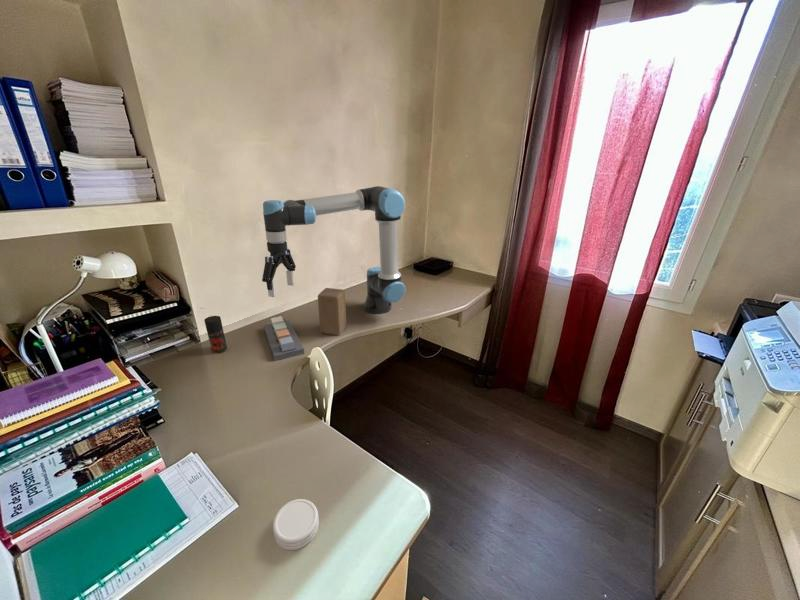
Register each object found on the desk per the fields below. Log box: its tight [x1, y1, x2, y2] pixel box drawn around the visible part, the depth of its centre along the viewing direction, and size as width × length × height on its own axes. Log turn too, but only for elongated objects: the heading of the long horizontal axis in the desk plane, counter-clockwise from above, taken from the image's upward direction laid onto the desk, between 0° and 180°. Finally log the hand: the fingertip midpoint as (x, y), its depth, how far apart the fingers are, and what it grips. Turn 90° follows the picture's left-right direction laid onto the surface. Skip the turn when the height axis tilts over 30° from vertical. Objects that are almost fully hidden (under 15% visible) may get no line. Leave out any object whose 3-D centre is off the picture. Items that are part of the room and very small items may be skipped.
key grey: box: [270, 316, 285, 330], centre depth 159 cm, size 5×5×4 cm
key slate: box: [279, 336, 294, 352], centre depth 142 cm, size 5×5×4 cm
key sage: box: [273, 322, 287, 337], centre depth 154 cm, size 5×5×4 cm
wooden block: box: [317, 287, 347, 336], centre depth 159 cm, size 10×10×20 cm
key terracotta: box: [276, 329, 290, 344], centre depth 148 cm, size 5×5×4 cm
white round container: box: [272, 498, 320, 551], centre depth 78 cm, size 10×10×4 cm
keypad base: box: [263, 319, 305, 361], centre depth 152 cm, size 12×29×2 cm, turn 28°
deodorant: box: [204, 315, 228, 354], centre depth 142 cm, size 6×6×15 cm
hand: (281, 290), depth 142 cm, fingers open, 13 cm apart
